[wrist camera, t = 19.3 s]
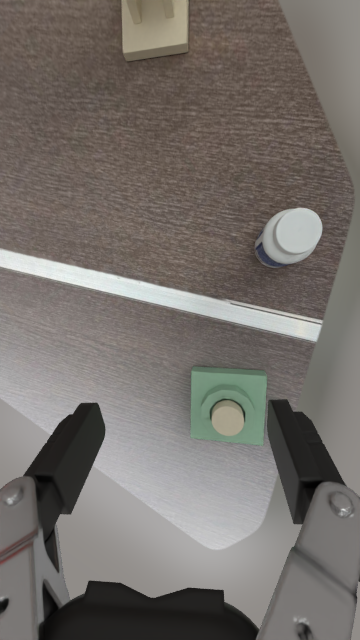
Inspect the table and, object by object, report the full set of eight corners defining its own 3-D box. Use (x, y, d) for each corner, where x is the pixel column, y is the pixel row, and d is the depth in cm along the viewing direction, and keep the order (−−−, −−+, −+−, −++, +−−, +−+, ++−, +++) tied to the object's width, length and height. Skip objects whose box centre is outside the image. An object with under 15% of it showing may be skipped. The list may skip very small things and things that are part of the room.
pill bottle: (295, 268, 31) (328, 261, 22) (252, 267, 32) (266, 261, 23) (299, 224, 31) (335, 197, 21) (255, 225, 32) (270, 199, 22)
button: (243, 401, 31) (244, 407, 30) (242, 429, 32) (243, 438, 30) (212, 398, 32) (211, 405, 30) (211, 426, 33) (211, 434, 31)
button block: (264, 370, 34) (269, 381, 30) (260, 436, 35) (265, 455, 32) (193, 366, 36) (189, 376, 32) (192, 429, 37) (188, 446, 33)
